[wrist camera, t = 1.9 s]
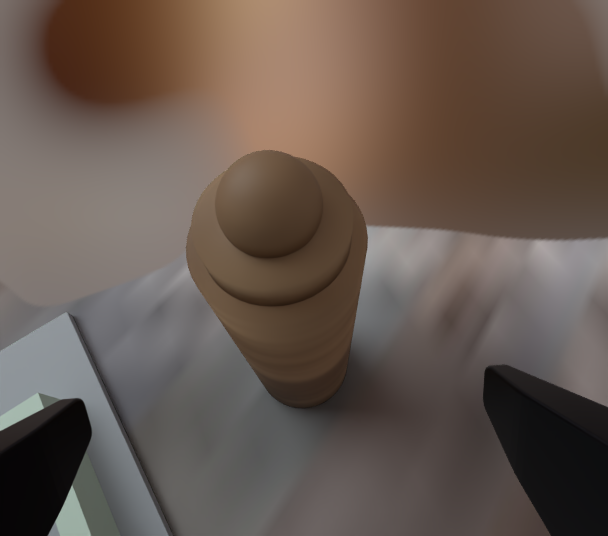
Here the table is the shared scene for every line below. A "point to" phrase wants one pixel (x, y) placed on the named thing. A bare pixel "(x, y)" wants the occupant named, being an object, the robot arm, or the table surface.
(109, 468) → the well board
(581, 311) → the table surface
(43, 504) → the robot arm
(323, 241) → the pepper mill
